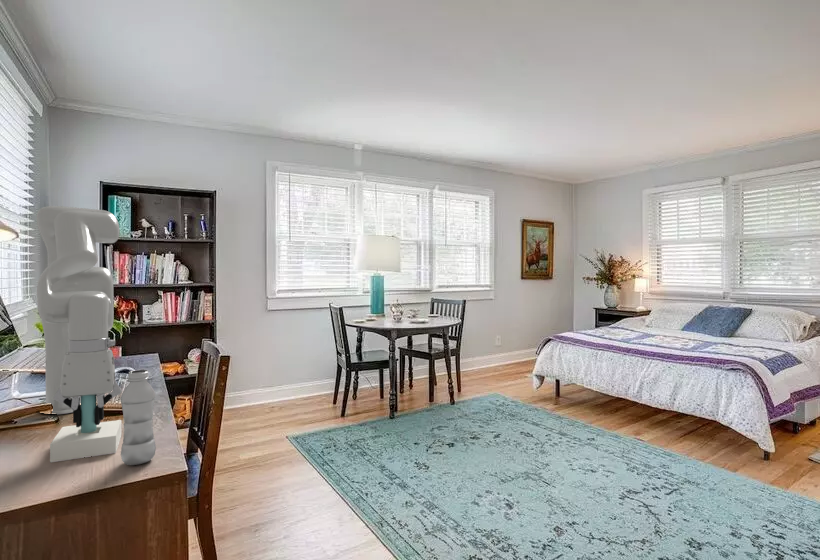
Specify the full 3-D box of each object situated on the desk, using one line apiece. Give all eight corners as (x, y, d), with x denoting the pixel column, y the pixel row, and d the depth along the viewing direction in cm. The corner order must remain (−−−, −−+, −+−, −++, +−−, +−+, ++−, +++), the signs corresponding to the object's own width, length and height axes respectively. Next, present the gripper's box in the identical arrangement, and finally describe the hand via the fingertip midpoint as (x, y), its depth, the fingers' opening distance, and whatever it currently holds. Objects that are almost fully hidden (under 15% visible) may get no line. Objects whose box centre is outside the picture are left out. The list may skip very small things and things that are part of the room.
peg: (82, 429, 106) (82, 389, 106) (97, 427, 108) (97, 388, 107) (79, 433, 104) (79, 392, 103) (95, 431, 105) (95, 391, 105)
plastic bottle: (162, 458, 101) (163, 369, 100) (135, 471, 94) (135, 376, 94) (141, 454, 103) (141, 367, 102) (113, 466, 96) (113, 373, 96)
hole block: (62, 443, 108) (62, 426, 108) (121, 435, 114) (121, 419, 114) (50, 462, 98) (50, 444, 98) (115, 453, 103) (115, 435, 103)
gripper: (131, 341, 112) (131, 415, 113) (48, 346, 105) (49, 424, 105) (128, 346, 106) (128, 424, 106) (40, 351, 98) (40, 435, 98)
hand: (88, 423), depth 106 cm, fingers closed on peg, 3 cm apart
